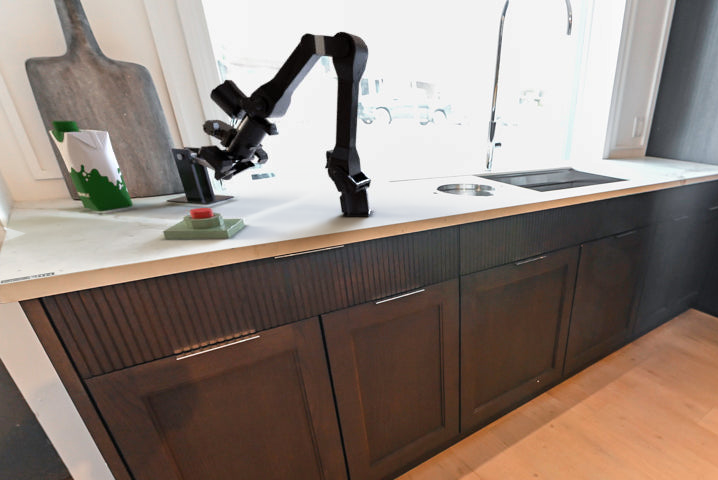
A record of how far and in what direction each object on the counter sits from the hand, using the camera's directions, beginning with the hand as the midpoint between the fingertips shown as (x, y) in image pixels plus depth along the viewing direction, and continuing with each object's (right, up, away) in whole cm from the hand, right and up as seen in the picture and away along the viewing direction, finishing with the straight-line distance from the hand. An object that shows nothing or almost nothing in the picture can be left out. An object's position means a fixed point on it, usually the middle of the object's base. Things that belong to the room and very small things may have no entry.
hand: (221, 178), depth 113 cm
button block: (+10, -19, -20) cm, 29 cm away
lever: (-4, +2, 0) cm, 4 cm away
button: (+10, -16, -21) cm, 29 cm away
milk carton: (-24, -11, -6) cm, 27 cm away
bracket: (-8, -5, +4) cm, 10 cm away
